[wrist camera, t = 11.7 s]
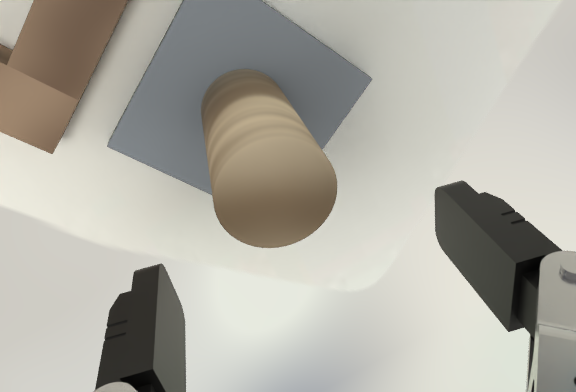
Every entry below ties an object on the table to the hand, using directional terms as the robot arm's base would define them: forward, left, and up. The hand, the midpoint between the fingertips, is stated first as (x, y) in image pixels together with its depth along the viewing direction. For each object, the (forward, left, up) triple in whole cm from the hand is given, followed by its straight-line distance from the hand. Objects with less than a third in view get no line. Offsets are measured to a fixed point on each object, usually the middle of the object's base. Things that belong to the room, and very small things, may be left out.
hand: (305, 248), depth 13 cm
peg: (0, 0, -12) cm, 12 cm away
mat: (0, 0, -13) cm, 13 cm away
